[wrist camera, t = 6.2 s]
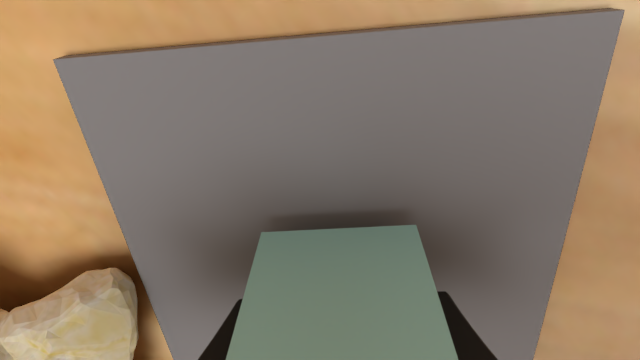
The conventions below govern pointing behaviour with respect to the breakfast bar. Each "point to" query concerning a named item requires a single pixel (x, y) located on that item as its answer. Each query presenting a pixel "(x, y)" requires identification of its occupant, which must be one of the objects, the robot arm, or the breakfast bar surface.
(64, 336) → the conch shell
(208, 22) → the breakfast bar surface
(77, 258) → the breakfast bar surface
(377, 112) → the mat
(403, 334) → the block
